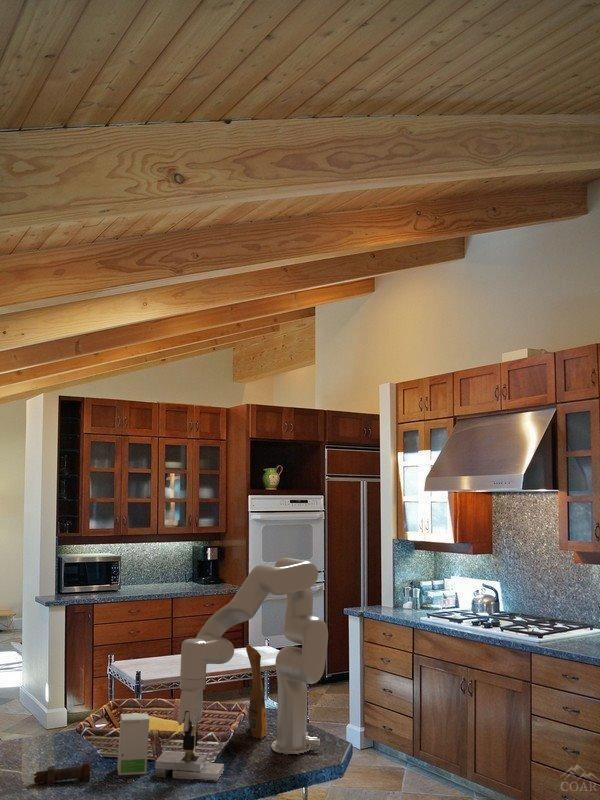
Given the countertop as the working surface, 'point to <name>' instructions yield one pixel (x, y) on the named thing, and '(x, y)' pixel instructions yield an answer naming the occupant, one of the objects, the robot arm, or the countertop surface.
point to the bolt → (63, 774)
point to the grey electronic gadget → (187, 767)
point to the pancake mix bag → (256, 696)
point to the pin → (191, 753)
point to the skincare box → (133, 744)
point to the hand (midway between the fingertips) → (190, 747)
